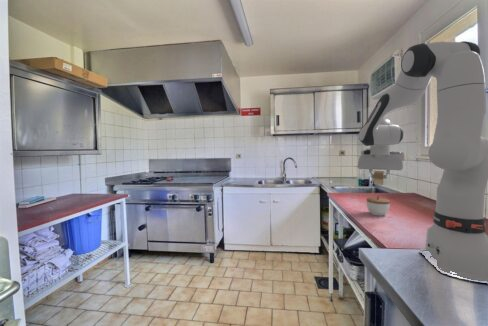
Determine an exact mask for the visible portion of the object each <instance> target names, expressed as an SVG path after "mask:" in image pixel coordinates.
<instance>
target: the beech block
mask: <svg viewBox="0 0 488 326" xmlns="http://www.w3.org/2000/svg"><path fill="white" fill-rule="evenodd" d="M384 172H385V170H378V169H374V172H373V174H374V178H373V185H379V186H383V185H384V179H383V177H384V176H383V175H385V173H384Z"/></svg>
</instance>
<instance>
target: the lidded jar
mask: <svg viewBox="0 0 488 326" xmlns="http://www.w3.org/2000/svg"><path fill="white" fill-rule="evenodd" d="M390 204H391V200H389V199H387V198H384V197H383V198H382V197H380V196H376V197H373V196H372V197H371V196H370V197H367V198H366V207H367V210H368V212H369V213H370V214H371V215H373V216H379V217H382V216H385V215H386V214H388V212H389V210H390V207H391V206H390Z"/></svg>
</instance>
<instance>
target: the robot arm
mask: <svg viewBox="0 0 488 326" xmlns="http://www.w3.org/2000/svg"><path fill="white" fill-rule="evenodd" d="M400 62H401V64H400V66H401V68H400V69H401V70H400V71H399V73H398V75H397V78H396V80H395V83H394V84H393V86H392V87H391V89H389V90H388V92H386V93H385V94H383V95H382V96H380V98H379V99H378V101H377V103H376V105H375V106H374V108H373V110H372V111H371V113H370V115H369V116H368V119H367V120H366V121H365V123H364V125H363V126H362V127H361V128H360V131H359V133H358V140H359V142H361V144H363V145H364V146H366V147H369V146H370V147H369V148H366V149H362V150H361V151H360V156H359V157H358V161H357V168H358V169H360V170H368V172H369V173H370V177H371V179H374V173H373V170H382V171H385V172H386V173H385V174H384V175H383V176H384V177H383V180H384V179H385V180H387V179H388V175H390V172H391V171H402V170H403V169H404V164H403V160H404V159H405V155H404V153H403V152H401V151H391V146H395V145H398V144H400V143H401V142H402V141H403V139H404V130H403V128H402V127H401V126H400V125H399V124H394V123H392V122H391V121H390V119H389V118H388V119H387V118H384V117H385V115H387V114H389V113H391V112H392V111H395V110H397V109H400V108H403V107H408V106H411V105H413V104H415V103H417V102H418V101H420V99H421V98H422V97H423V96H424V95H425V92H426V91H427V88H428V86H429V84H430V82H431V79H432V78H435V79H436V100H437V102H436V103H437V105H436V106H437V110H436V111H437V115H436V116H437V118H436V124H435V129H434V135H433V139H432V143H431V145H430V147H429V148H428V154H427V155H428V158H429V160H430V162H431V163H432V165H434V166H435V167H438V168H439V169H442V170H443V173H442V175H441V178H440V181H439V183H438V185H437V188H436V202H435V211H434V212H433V216H432V218H433V224H432V225H431V226H430V227H428V228H427V230H426V237H425V238H426V239H425V247H422V248H419V250H420V251H422V252H423V251H429V252H430V253H431V255H432V256H430V258H431V257H433V258H434V259H436V260H437V266H438V268H439V269H440V268H441V269H440V270H442V271H444V272H447V273H450V271H452V272H455V273H457V274H453V275H457V276H460V277H463V278H467V279H471V280H478V281H487V282H488V235H487V233H485V232H486V230H487V229H486V220H485V218H484V210H485V209H484V206H485V195H486V188H487V184H488V139H487V138H486V137H484V136H482V128H483V122H484V118H485V115H486V114H487V113H486V112H487V99H486V96H487V93H486V77H485V71H484V66H483V62H482V59H481V50H480V47H479V45H478V44H476V43H474V42H471V41H465V40H463V41H462V40H461V41H443V40H442V41H434V42H428V43H418V44H415V45H412V46H410V47H408V48H407V50H405V52H404V54H403V56H402V58H401V61H400ZM450 274H452V273H450Z"/></svg>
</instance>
